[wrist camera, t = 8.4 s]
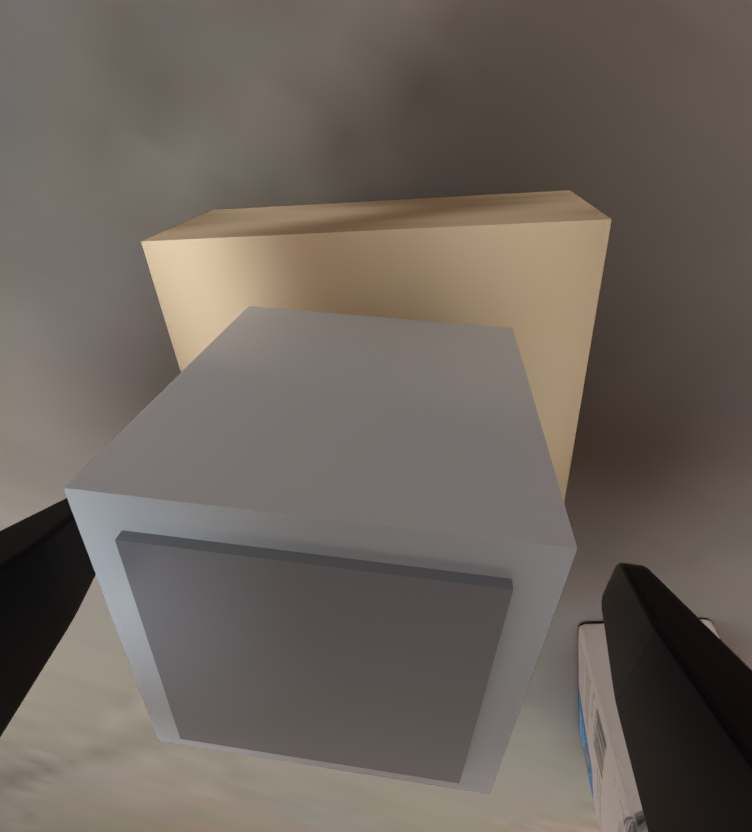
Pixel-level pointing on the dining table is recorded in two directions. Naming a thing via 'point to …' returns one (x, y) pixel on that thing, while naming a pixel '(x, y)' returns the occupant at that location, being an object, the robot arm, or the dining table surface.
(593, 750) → the ink box
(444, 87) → the dining table surface
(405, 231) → the beige square block
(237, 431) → the gray paneled cube
